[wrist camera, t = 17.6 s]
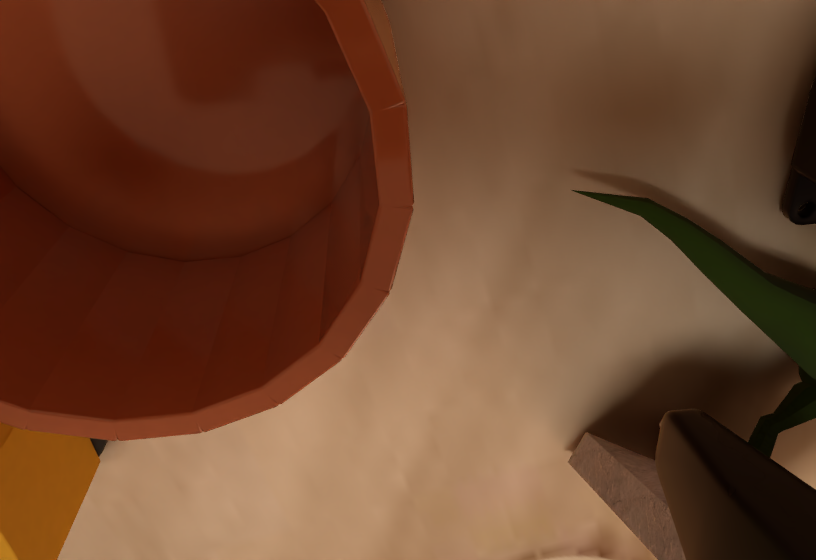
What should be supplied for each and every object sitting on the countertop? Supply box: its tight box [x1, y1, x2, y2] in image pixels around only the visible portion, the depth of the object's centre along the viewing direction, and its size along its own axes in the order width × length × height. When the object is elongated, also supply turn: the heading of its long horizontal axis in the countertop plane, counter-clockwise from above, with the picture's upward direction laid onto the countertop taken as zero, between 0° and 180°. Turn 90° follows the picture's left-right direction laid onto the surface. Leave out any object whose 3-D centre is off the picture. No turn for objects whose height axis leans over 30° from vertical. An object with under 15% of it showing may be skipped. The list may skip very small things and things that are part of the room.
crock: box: [0, 0, 414, 441], centre depth 13 cm, size 11×11×7 cm
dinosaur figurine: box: [568, 190, 816, 560], centre depth 20 cm, size 9×20×12 cm
